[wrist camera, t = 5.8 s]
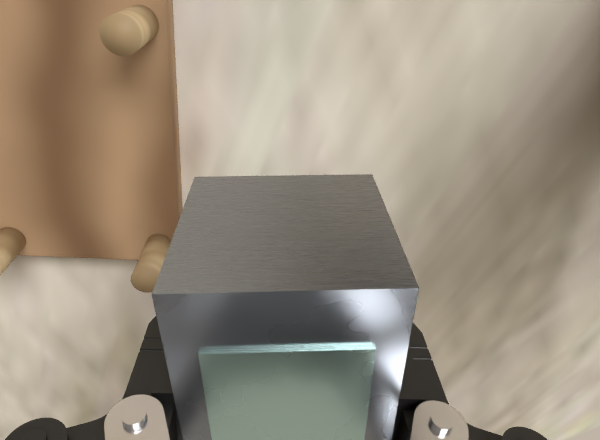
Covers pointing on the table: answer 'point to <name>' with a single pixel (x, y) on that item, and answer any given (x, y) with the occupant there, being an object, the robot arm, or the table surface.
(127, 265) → the table surface
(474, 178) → the table surface
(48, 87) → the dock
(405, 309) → the grey rectangular block
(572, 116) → the table surface
